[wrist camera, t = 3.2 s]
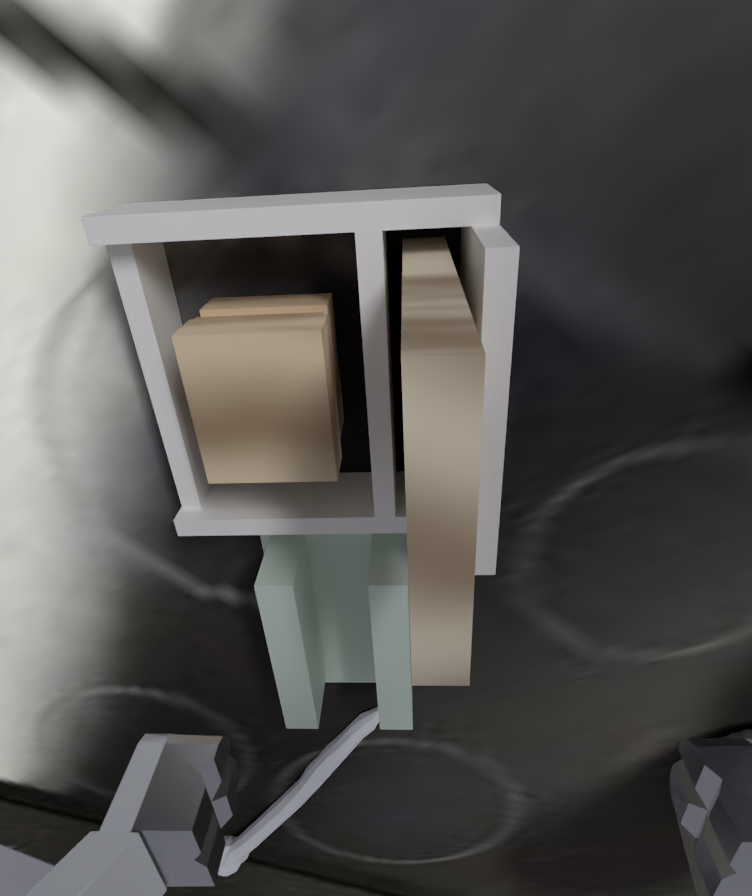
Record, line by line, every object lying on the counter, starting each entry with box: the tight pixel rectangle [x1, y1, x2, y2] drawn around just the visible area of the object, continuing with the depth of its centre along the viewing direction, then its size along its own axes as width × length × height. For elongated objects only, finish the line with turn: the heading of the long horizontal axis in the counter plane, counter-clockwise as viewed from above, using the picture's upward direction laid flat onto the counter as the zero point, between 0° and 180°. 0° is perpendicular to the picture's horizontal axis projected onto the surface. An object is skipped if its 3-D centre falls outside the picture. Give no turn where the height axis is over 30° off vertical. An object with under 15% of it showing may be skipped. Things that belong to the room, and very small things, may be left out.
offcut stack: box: [171, 293, 344, 484], centre depth 25 cm, size 7×6×6 cm
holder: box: [254, 533, 413, 730], centre depth 33 cm, size 14×9×5 cm, turn 3°
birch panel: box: [401, 237, 486, 686], centre depth 21 cm, size 11×2×14 cm, turn 3°
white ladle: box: [218, 707, 379, 876], centre depth 46 cm, size 28×4×3 cm, turn 149°
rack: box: [81, 183, 520, 575], centre depth 23 cm, size 15×15×8 cm
